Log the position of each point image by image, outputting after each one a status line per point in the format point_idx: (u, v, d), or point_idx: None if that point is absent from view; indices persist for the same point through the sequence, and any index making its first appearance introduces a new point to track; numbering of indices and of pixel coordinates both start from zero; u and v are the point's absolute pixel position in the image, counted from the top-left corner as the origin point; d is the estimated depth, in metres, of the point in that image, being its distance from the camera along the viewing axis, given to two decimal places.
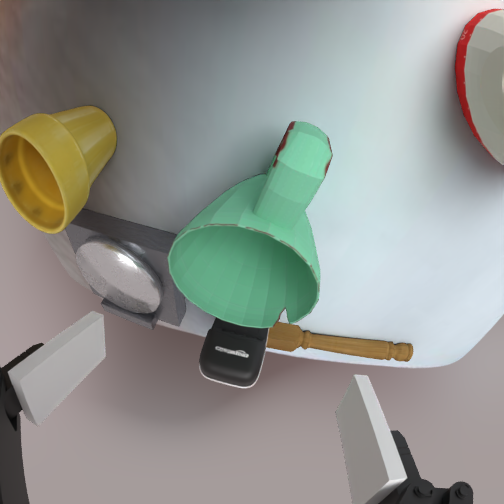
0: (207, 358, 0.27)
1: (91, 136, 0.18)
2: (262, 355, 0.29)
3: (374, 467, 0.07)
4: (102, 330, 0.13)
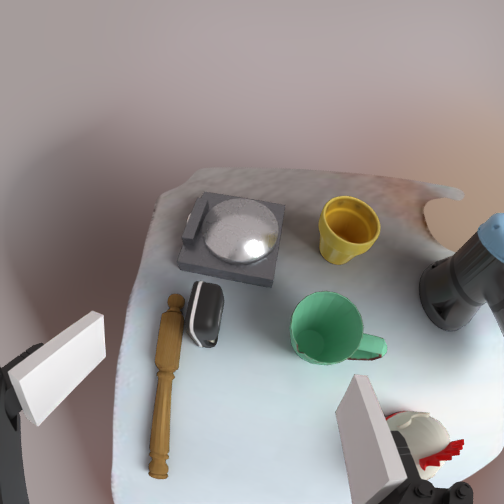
0: (221, 292, 0.35)
1: (351, 257, 0.46)
2: (212, 337, 0.34)
3: (374, 467, 0.07)
4: (102, 330, 0.13)
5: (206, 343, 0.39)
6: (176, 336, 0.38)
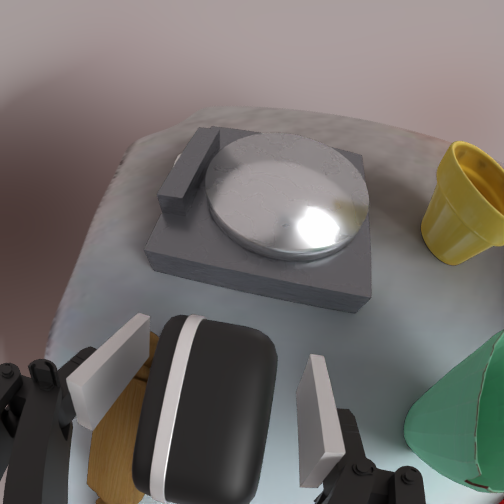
0: None
1: (483, 250, 0.19)
2: None
3: (316, 440, 0.08)
4: (148, 331, 0.14)
5: None
6: (134, 442, 0.12)
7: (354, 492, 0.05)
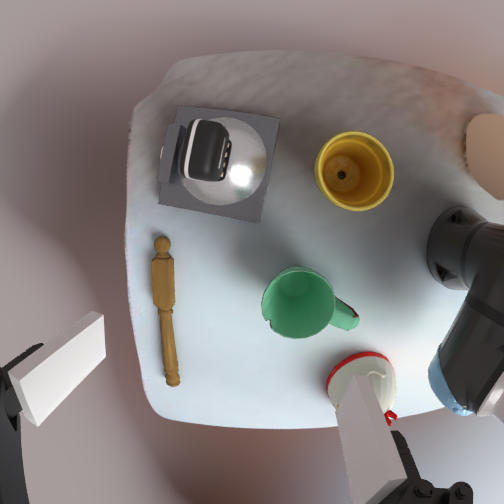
0: (222, 130, 0.27)
1: None
2: (213, 180, 0.31)
3: (374, 467, 0.07)
4: (102, 330, 0.13)
5: None
6: (166, 282, 0.44)
7: None
